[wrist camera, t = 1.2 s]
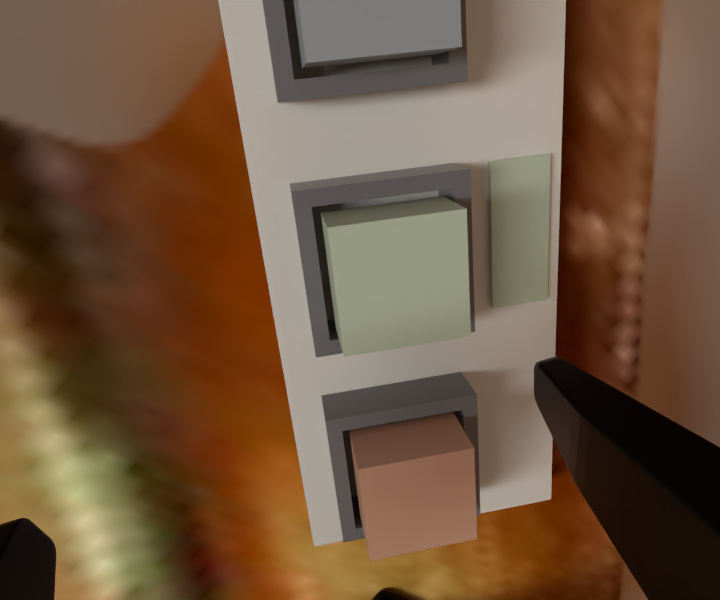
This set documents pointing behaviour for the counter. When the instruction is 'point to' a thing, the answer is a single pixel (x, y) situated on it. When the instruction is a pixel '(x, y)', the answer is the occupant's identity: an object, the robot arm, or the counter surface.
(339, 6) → the slate button
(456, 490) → the terracotta button
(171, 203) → the counter surface
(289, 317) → the button panel
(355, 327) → the sage button
